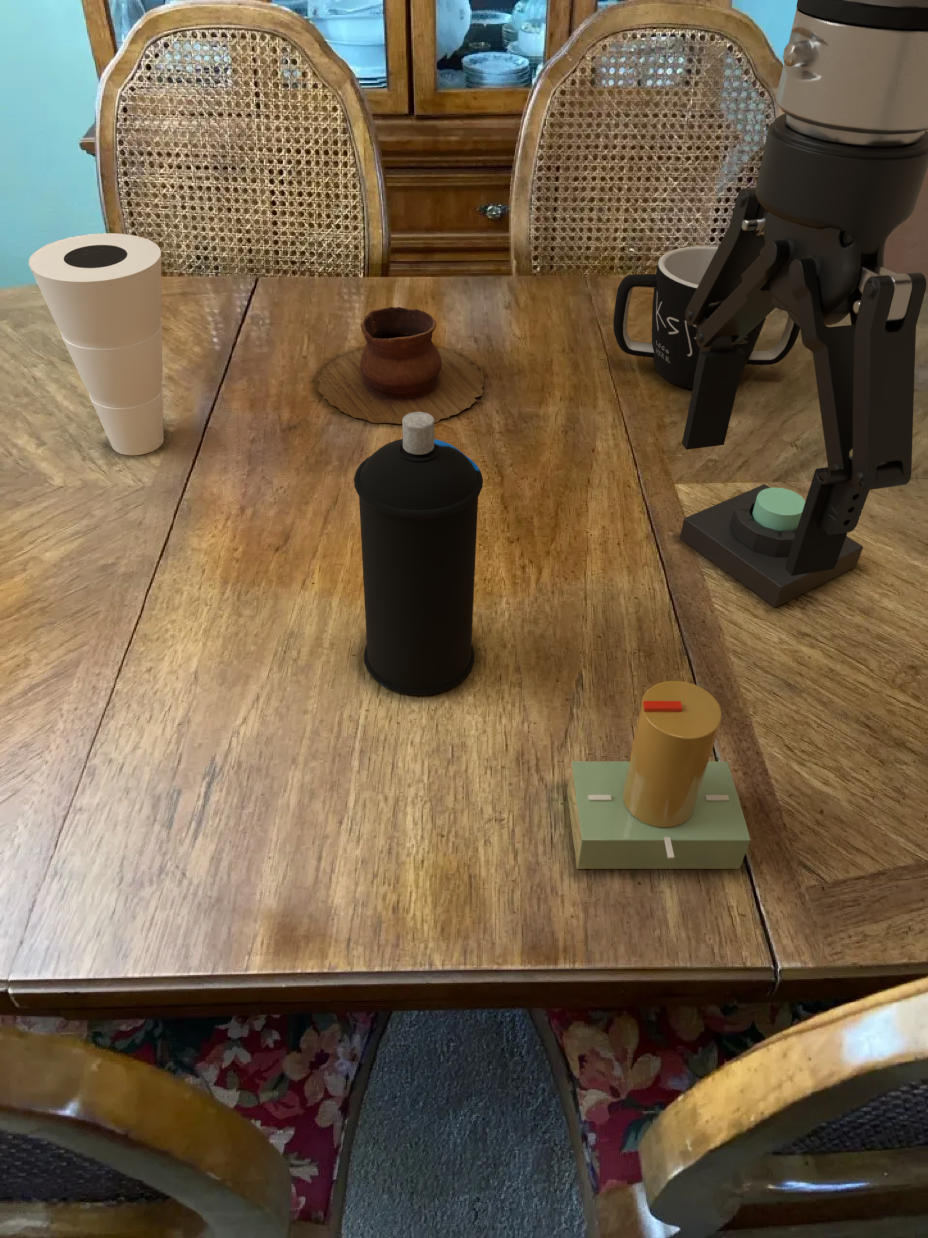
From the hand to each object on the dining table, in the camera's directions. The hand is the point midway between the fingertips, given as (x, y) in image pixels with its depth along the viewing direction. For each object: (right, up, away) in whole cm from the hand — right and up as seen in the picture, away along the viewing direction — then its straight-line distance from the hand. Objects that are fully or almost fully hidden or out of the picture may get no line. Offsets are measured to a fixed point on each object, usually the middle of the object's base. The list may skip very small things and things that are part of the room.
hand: (751, 501), depth 59 cm
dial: (-6, -18, 0) cm, 19 cm away
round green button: (+8, +1, +21) cm, 23 cm away
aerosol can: (-21, -10, +13) cm, 27 cm away
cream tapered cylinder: (-49, +10, +34) cm, 61 cm away
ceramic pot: (-24, +18, +45) cm, 54 cm away
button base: (+8, -1, +24) cm, 25 cm away
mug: (+8, +20, +48) cm, 53 cm away
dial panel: (-6, -20, +2) cm, 21 cm away
